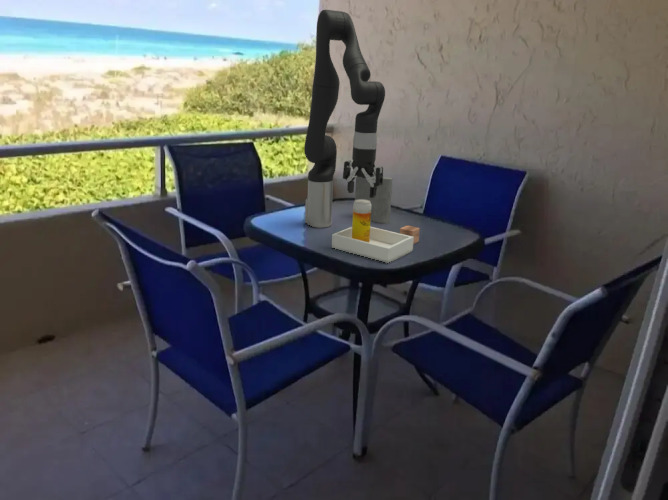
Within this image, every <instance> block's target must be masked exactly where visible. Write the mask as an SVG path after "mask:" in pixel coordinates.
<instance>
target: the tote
mask: <svg viewBox="0 0 668 500" xmlns="http://www.w3.org/2000/svg"><path fill="white" fill-rule="evenodd" d="M413 241H414V237H412V236H408V235H404V234H400V232H395V231H391V230H387V229H382V228H378V227H374V226H370V241H369V242H365V241H361V240H357V239H353V238H352V226H349V227H348V228H345V229H343V230H339V231H337V232H335V233H332V234H331V249H332V248H335V249H334V250H336V249H339V250H343V251H346V252H349V253H348V254H350V253H353V254H352V255H354V254H357V255H360V256H359V257H361V256H364V257H363V258H365V257H368V258H371V259H370V260H372V259H375V260H374V261H376V260H379V261H383V262H386V263H385V264H387V263H388V264H390V263H392V262H394V261H396V260H399V259H400V258H403V257H404V256H406V255H408V254H410V253H412V252H413V250H414V244H413ZM339 250H338V251H339ZM343 251H342V252H343ZM346 252H345V253H346ZM357 255H356V256H357ZM368 258H367V259H368ZM379 261H378V262H379ZM391 261H392V262H391ZM383 262H382V263H383ZM389 262H390V263H389Z"/></svg>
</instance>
